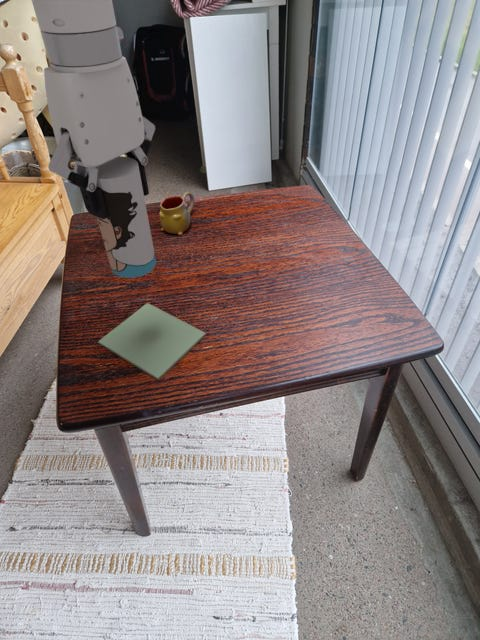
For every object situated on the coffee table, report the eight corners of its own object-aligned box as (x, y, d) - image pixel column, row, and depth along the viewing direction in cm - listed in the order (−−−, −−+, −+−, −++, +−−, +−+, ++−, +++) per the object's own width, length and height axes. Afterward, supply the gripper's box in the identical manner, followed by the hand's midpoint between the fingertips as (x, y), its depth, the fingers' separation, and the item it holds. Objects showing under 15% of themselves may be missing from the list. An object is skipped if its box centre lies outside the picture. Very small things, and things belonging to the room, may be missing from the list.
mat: (158, 380, 66) (158, 378, 66) (98, 343, 72) (97, 341, 72) (206, 335, 73) (205, 332, 73) (147, 305, 79) (147, 302, 79)
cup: (131, 246, 67) (109, 152, 56) (165, 258, 64) (149, 162, 54) (101, 269, 62) (72, 172, 52) (136, 283, 60) (113, 183, 50)
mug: (179, 238, 95) (176, 212, 91) (155, 231, 98) (150, 205, 93) (207, 214, 103) (205, 188, 98) (184, 208, 105) (181, 182, 101)
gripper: (120, 30, 51) (145, 173, 63) (-14, 61, 40) (47, 224, 53) (166, 37, 47) (183, 186, 60) (34, 72, 37) (87, 242, 50)
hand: (119, 202), depth 56 cm, fingers closed on cup, 6 cm apart
